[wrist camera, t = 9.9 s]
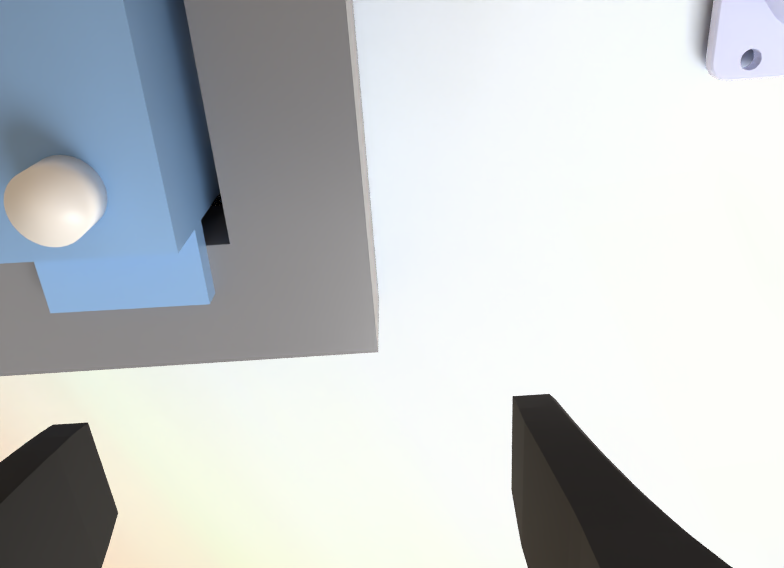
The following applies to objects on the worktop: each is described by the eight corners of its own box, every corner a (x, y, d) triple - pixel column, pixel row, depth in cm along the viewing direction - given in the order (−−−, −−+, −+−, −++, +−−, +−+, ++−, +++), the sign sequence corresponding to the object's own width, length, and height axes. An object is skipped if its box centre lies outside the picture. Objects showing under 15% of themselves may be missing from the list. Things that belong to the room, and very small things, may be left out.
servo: (168, -152, 16) (53, -206, 10) (237, 246, 20) (184, 356, 15) (-4, -141, 16) (-207, -188, 10) (104, 254, 20) (1, 366, 15)
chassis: (328, -272, 15) (315, -322, 12) (379, 299, 21) (378, 352, 18) (-214, -226, 15) (-346, -264, 12) (-4, 325, 21) (-62, 380, 18)
